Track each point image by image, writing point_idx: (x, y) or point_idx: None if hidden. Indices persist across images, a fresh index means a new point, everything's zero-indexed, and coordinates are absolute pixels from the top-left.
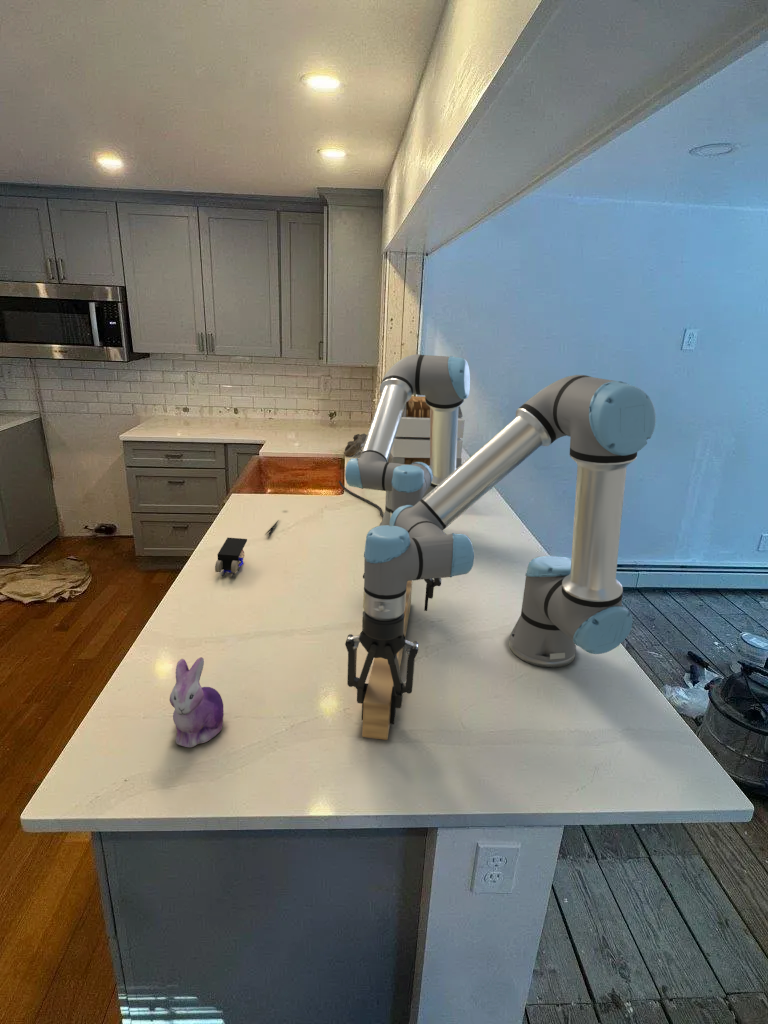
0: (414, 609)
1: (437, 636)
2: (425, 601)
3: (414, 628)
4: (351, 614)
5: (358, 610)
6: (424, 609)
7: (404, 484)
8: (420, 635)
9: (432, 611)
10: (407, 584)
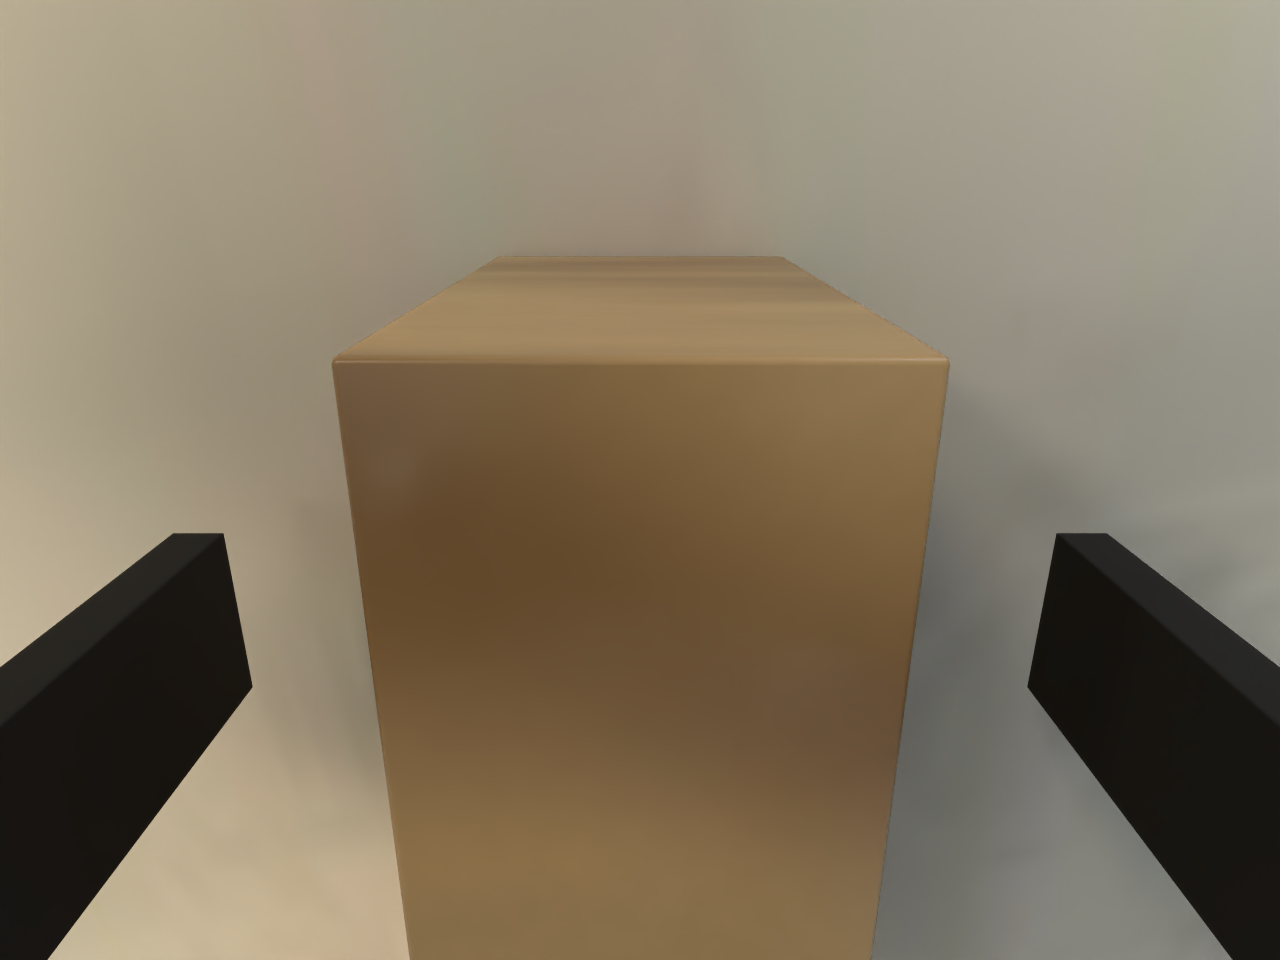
0: None
1: (1096, 890)
2: (1127, 808)
3: None
4: (8, 651)
5: (50, 539)
6: (1040, 702)
7: None
8: (907, 903)
9: (1125, 356)
10: (790, 690)
